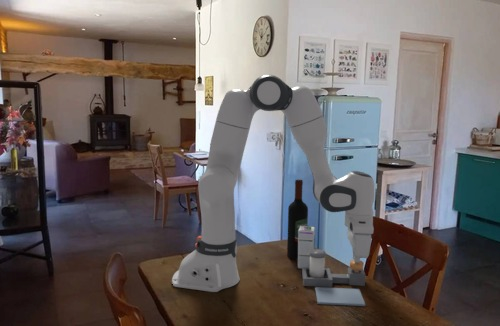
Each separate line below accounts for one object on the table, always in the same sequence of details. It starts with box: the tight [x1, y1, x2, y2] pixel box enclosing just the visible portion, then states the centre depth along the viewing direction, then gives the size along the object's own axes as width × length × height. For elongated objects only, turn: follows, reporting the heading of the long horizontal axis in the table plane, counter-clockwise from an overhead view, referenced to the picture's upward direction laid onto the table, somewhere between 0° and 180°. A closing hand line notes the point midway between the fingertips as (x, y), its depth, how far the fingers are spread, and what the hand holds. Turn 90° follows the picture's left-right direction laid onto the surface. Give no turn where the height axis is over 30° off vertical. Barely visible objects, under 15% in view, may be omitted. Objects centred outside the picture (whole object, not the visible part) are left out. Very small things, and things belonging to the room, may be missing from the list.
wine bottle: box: [286, 179, 309, 260], centre depth 161 cm, size 8×8×30 cm
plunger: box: [349, 259, 364, 272], centre depth 139 cm, size 4×4×6 cm
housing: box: [301, 267, 366, 288], centre depth 140 cm, size 20×9×4 cm, turn 85°
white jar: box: [308, 248, 327, 278], centre depth 140 cm, size 5×5×10 cm
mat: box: [314, 286, 366, 307], centre depth 129 cm, size 14×10×1 cm
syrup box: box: [297, 225, 316, 270], centre depth 152 cm, size 6×6×14 cm
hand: (356, 260), depth 139 cm, fingers closed
